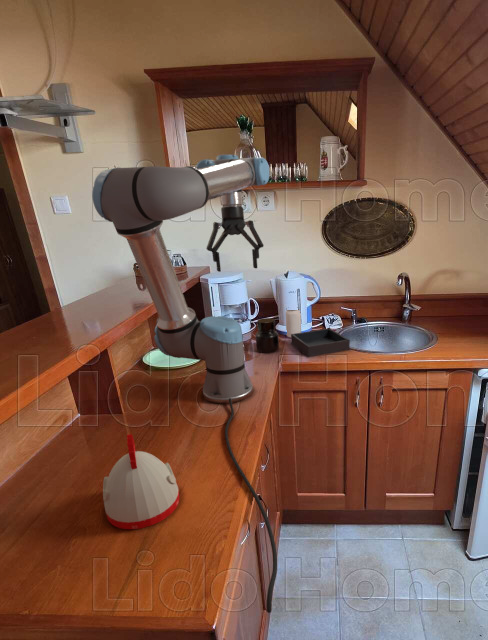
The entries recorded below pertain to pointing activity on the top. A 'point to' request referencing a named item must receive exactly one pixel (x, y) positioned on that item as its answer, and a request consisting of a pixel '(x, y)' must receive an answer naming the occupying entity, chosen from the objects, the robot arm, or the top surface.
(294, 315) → the can
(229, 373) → the robot arm
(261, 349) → the ink bottle
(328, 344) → the pan
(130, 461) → the toy helmet
